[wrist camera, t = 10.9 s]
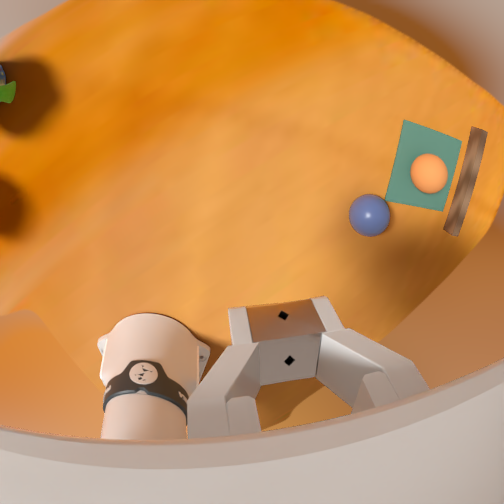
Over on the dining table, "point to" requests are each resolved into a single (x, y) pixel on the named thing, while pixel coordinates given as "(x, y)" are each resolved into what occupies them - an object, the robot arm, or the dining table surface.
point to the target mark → (409, 148)
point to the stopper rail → (466, 181)
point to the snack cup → (6, 88)
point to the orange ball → (429, 173)
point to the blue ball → (369, 215)
